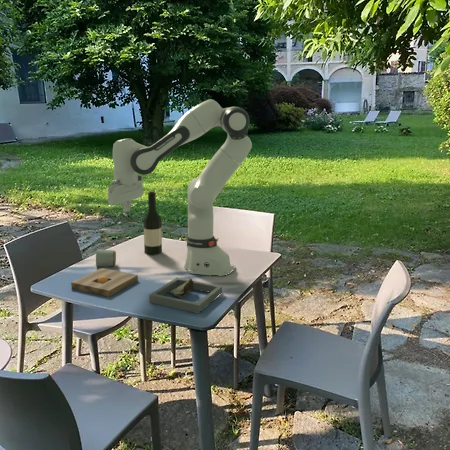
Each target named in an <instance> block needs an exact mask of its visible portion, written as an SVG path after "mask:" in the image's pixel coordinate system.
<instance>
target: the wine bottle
mask: <svg viewBox="0 0 450 450" xmlns="http://www.w3.org/2000/svg"><path fill="white" fill-rule="evenodd" d="M156 197H157V196H156V192H155V190H149V191H148V193H147V199H148V200H147V202H148V203H147V204H148V211H147V213H146V214H145V216H144V218H143V234H144V235H143V241H144V243H143V244H144V246H143V247H144V249H143V250H144V254H146V255H147V256H148V255H149V256H156V255H160V254H162V253H163V248H162V247H163V245H162V244H163V238H162V236H163V235H162V218H161V215H159V213H158V212H157V205H156V204H157V202H156Z"/></svg>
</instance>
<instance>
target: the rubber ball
mask: <svg viewBox="0 0 450 450" xmlns="http://www.w3.org/2000/svg"><path fill="white" fill-rule="evenodd" d="M106 282H108V278H107V277H106V276H100V277H99V278H98V283H101V284H104V283H106Z"/></svg>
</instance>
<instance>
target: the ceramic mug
mask: <svg viewBox="0 0 450 450" xmlns="http://www.w3.org/2000/svg"><path fill="white" fill-rule="evenodd" d="M95 253H96V254H95V266H96V268H105V267H106V268H109V267H110V268H111V267H115V266H116V265H117V254H116V253H117V252H116V251H115V250H113V249H98V248H97V249H96V252H95Z"/></svg>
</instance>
